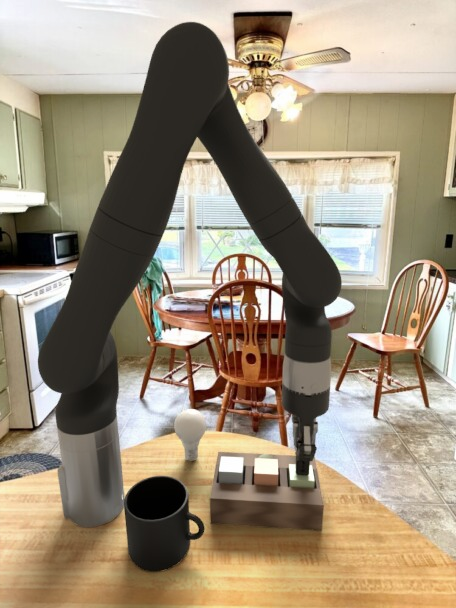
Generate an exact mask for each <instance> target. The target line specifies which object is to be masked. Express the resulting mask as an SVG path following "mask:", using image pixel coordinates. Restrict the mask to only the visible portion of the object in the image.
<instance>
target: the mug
mask: <svg viewBox="0 0 456 608" xmlns="http://www.w3.org/2000/svg"><path fill="white" fill-rule="evenodd" d="M124 498H125V499H124V507H123V510H124V520H125V529H126V532H125V533H126V540H127V542H126V543H127V553H128V557H129V559H130V560H131V562H132V563H133V564H134V566H136V567H138V568H139V569H141V570H143V571H146V572H150V573H151V572H153V573H156V572H163V571H166V570H169V569H171V568H173V567H175V566H177V565H178V564H180V562H181V561H183V559H184V557H185V556H186V554H187V553H188V551H189V548H190V546H191V541H196V540H199V539H200V538H202V537H203V535H204V534H205V529H206V528H205V524H204V522H203V521H202V519H201V518H200V517H199V516H197V515H196V514H193V513H191V512H190V501H189V499H190V498H189V491H188V488H187V486H186V485H185V484H184V482H182V481H181V480H180V479H178V478H176V477H173V476H168V475H155V476H150V477H146V478H144V479H142V480H140V481H138V482H137V483H135V484H133V486H131V487H130V488H129V489H128V491H127V492H126V494H125V495H124ZM191 521H192V522H194V523H195V524H196V525H197V528H198V531H197V532H195V533H193V532H191V528H190V527H191V526H190V522H191Z"/></svg>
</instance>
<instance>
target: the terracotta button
mask: <svg viewBox="0 0 456 608" xmlns="http://www.w3.org/2000/svg"><path fill="white" fill-rule="evenodd" d="M254 485H262V486H278V459H263V458H255V469H254Z"/></svg>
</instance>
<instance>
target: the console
mask: <svg viewBox="0 0 456 608" xmlns="http://www.w3.org/2000/svg"><path fill="white" fill-rule="evenodd" d="M221 456H224V457H243V458H244V479H243V484H227V483H219V467H220V461H221ZM255 458H263V459H278V486H262V485H254V469H255ZM289 464H296V455H293V454H292V455H288V454H272V453H271V454H268V453H251V452H250V453H249V452H248V453H247V452H234V451H233V452H229V451H217V456H216V462H215V466H214V468H215V469H214V472H213V473H214V474H213V479H212V484H211V489H210V490H211V492H210V496H209V510H210V511H209V514H210V516H209V517H210V518H209V519H210V520H209V521H210V525H211V524H212V525H224V526H225V525H226V526H227V525H228V526H241V527H242V526H243V527H257V528H258V527H259V528H270V529H271V528H272V529H284V530H285V529H288V530H301V531H317V532H318V531H319V532H322V531H323V521H324V518H323V517H324V505H325V504H324V498H323V493H322V489H321V482H320V478H319V477H320V476H319V474H318V473H319V472H318V467H317V462H316V457H315V456H314V459H313V461H310V465H312V469H313V475H314V480H315V483H314V488H297V487H288V475H289Z"/></svg>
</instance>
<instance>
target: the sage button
mask: <svg viewBox="0 0 456 608" xmlns="http://www.w3.org/2000/svg"><path fill="white" fill-rule="evenodd" d="M314 483H315V480H314V475H313V469H312V465H310V466H309V475H307V476H305V475H297V474H296V468H295V464H289V475H288V487H297V488H314Z"/></svg>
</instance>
